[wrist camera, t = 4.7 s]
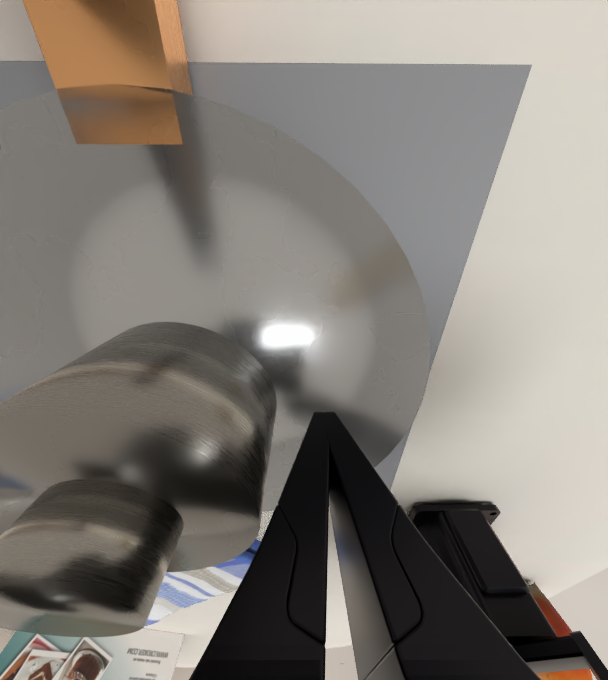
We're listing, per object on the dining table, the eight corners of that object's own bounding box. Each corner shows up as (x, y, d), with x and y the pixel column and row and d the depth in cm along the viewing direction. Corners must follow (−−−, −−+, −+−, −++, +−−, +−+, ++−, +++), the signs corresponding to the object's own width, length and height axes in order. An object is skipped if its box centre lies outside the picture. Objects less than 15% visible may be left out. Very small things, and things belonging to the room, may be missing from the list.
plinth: (384, 481, 16) (389, 497, 15) (106, 483, 15) (94, 498, 15) (505, 83, 6) (539, 59, 5) (-191, 79, 6) (-275, 53, 5)
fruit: (583, 591, 22) (636, 728, 18) (506, 562, 29) (532, 658, 25) (518, 584, 21) (558, 728, 17) (454, 556, 28) (471, 655, 24)
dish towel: (21, 559, 23) (-14, 600, 20) (146, 473, 16) (118, 519, 13) (163, 599, 29) (150, 634, 26) (297, 550, 22) (297, 591, 20)
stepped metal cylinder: (280, 455, 10) (260, 654, 6) (135, 455, 10) (-13, 656, 6) (271, 322, 7) (207, 520, 2) (60, 321, 7) (-461, 521, 2)
